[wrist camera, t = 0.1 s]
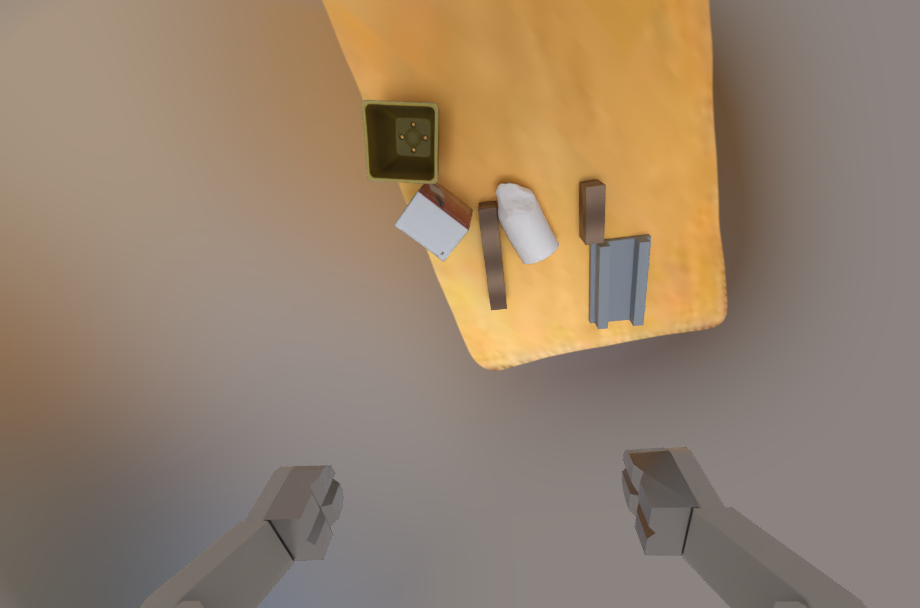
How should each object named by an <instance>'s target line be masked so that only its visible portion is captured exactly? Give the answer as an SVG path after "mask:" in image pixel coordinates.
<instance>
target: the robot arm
mask: <svg viewBox="0 0 920 608" xmlns="http://www.w3.org/2000/svg"><path fill="white" fill-rule="evenodd" d="M623 461H624V464H625V467H626V468H625V469H624V470H623V471H622V486H623V492H624V496H625V500H626V503H627V506H628V509H629V510H630V511H631V512H632V513H633V514H634V515H635V516H636V523H635V529H636V531H637V534H638V537H639V540H640V543H641V545H642V548H643V551H644V554H645V555H670V556H671V555H672V556H673V555H674V556H683V559H684V560H685V561H686V562H687V563H688V564H689V565H690V566H691V567H692V568H693V569H694V570H695V571H696V572H697V573H698V574H699V575H700V576H701V578H703V580H704V581H706V583H707V584H708V585H709V586H710V587H711V588H712V589H713V590H714V591H715V592H716V593H717V594H718V595H719V596H720V597H721V598H722V599H723V600H724V601H725V603H726V604H727V605H728V606H729V607H730V608H867V607H866V606H865V605H864V603H863V602H862V601H861V600H860V599H859V598H857V597H856V596H855V595H853V594H852V593H851V592H849V591H848V590H846V589H845V588H844V587H842V586H841V585H839V584H838V583H837V582H835V581H834V580H832V579H831V578H830V577H828V576H827V575H826V574H824V573H823V572H821V571H820V570H819V569H817V568H816V567H814V566H813V565H812V564H810V563H809V562H807V561H806V560H805V559H803V558H802V557H801V556H799V555H798V554H796V553H795V552H793V551H792V550H791V549H789V548H788V547H786V546H785V545H784V544H782V543H781V542H780V541H778V540H777V539H775V538H774V537H773V536H771V535H770V534H769V533H767V532H766V531H764V530H763V529H762V528H760V527H759V526H758V525H756V524H755V523H753V522H752V521H751V520H749V519H748V518H746V517H745V516H744V515H742V514H741V513H739V512H738V511H736V510H735V509H734V508H732V507H725V506H724V504H723V502H722V501H721V499H720V498H719V496H718V494H717V493H716V491H715V489H714V488H713V486H712V484H711V483H710V481H709V479H708V478H707V476H706V474H705V473H704V471H703V469H702V468H701V466H700V464H699V463H698V461H697V460H696V458H695V456H694V455H693V453H692V451H691V450H690V449H689V448H687V447H676V448H650V449H636V450H625V451H624V453H623ZM334 475H335V472H334V470H333V468H332V466H291V467H290V466H289V467H279V468H278V469H277V470H276V471H275V472H274V473H273V475H272V477H271V478H270V480H269V481H268V483H267V485H266V487H265V488H264V490H263V492H262V493H261V495H260V497H259V498H258V500H257V502H256V504H255V505H254V507H253V508H252V510H251V512H250V513H249V515H248V517H247V519H246V520H245V521H243V522H239V523H238V524H236V525H235V526H234V527H233V528H232V529H231V530H229V531H228V532H227V533H226V534H224V535H223V536H222V537H221V538H219V539H218V540H217V541H216V542H215V543H213V544H212V545H211V546H210V547H208V548H207V549H206V550H205V551H204V552H202V553H201V554H200V555H199V556H198V557H196V558H195V559H194V560H193V561H191V562H190V563H189V564H188V565H187V566H186V567H184V568H183V569H182V570H181V571H179V572H178V573H177V574H176V575H174V576H173V577H172V578H171V579H169V580H168V581H167V582H166V583H165V584H163V585H162V586H161V587H160V588H159V589H157V590H156V591H155V592H154V593H152V594H151V595H150V596H149V597H148V598H146V600H145V601H144V602H143V604H142V605H141V607H140V608H256V607H257V606H258V605H259V604H260V603H261V601H262V600H263V599H264V598H265V597H266V596H267V595H268V593H269V592H270V591H271V590H272V588H273V587H274V586H275V585H276V584H277V582H279V580H280V579H281V578H282V577H283V576H284V575H285V573H286V572H287V571H288V570H289V569H290V567H291V566H292V565H293V564H294V561H306V560H323V559H324V557H325V554H326V551H327V549H328V546H329V543H330V541H331V538H332V535H333V534H332V530H331V527H330V526H332V525H333V523H335V522H336V520H337V519H338V518H339V516H340V513H341V510H342V504H343V490H342V487H341V485H340V483H339V482H337V481H335V480H334V479H333V477H334Z"/></svg>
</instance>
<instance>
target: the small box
mask: <svg viewBox="0 0 920 608" xmlns="http://www.w3.org/2000/svg"><path fill="white" fill-rule="evenodd" d="M472 212H473V210H472V209H470V208H469V207H468V206H466V205H465V204H463V203H462V202H461V201H460V200H458V199H457V198H456V197H454V196H453V195H452V194H451V193H450V192H448V191H447V190H446V189H444V188H443V187H442V186H441V185H439V184H438V183H436V184H424V185H423V186H422V187H421V188H420V189H419V190H418V192H417V193H416V194H415V196H414V197H413V199H412V200H411V201H410V203H409V204H408V206H407V207H406V209H405V210H404V211H403V213H402V214H401V216H400V217H399V219H398V220H397V222H396V223H395V227H397V228H398V229H400V230H401V231H403V232H404V233H406V234H407V235H409V236H410V237H411V238H413V239H414V240H416V241H417V242H418V243H420V244H421V245H422V246H424V247H425V248H426V249H428V250H429V251H430V252H432V253H433V254H434V255H436V256H437V257H438V258H439V259H441V260H442V261H445V260H446V258H447V257H448V256H449V254H450V253H451V252H452V251H453V249H454V248H455V247H456V245H457V244H458V243H459V242H460V240H461V239H462V238H463V237H464V235H465V234H466V233H467V232H468V230H469V226H470V221H471V217H472Z"/></svg>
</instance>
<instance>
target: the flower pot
mask: <svg viewBox="0 0 920 608" xmlns="http://www.w3.org/2000/svg"><path fill="white" fill-rule="evenodd" d="M362 116H363V125H364V136H365V149H366V166H367V177H368V180H370V181H384V182H385V181H386V182H405V183H423V184H436V183H437V180H438V170H439V157H438V155H439V108H438V106H437V104H435V103H425V102H393V101H376V100H365V101H363V102H362ZM413 122H414V123H415V127H412V126H411V123H413ZM400 135H403V136H404V139H401V138H400ZM424 136H426V137H427V140H424V139H423V137H424ZM412 148H415V149H416V151H415V152H412Z"/></svg>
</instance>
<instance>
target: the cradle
mask: <svg viewBox="0 0 920 608" xmlns="http://www.w3.org/2000/svg"><path fill="white" fill-rule="evenodd" d="M650 245H651V236H650V235H639V236H631V237H623V238H614V239H606V240H604V243H598V244H590V257H589V322H590V323H595V324H596V326H597V328H598V329H605V328H608V322H609V321H620V320H630V321H631V323H632V324H633V326H638V325H643V323H644V312H645V301H646V290H647V279H648V268H649V256H650Z"/></svg>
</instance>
